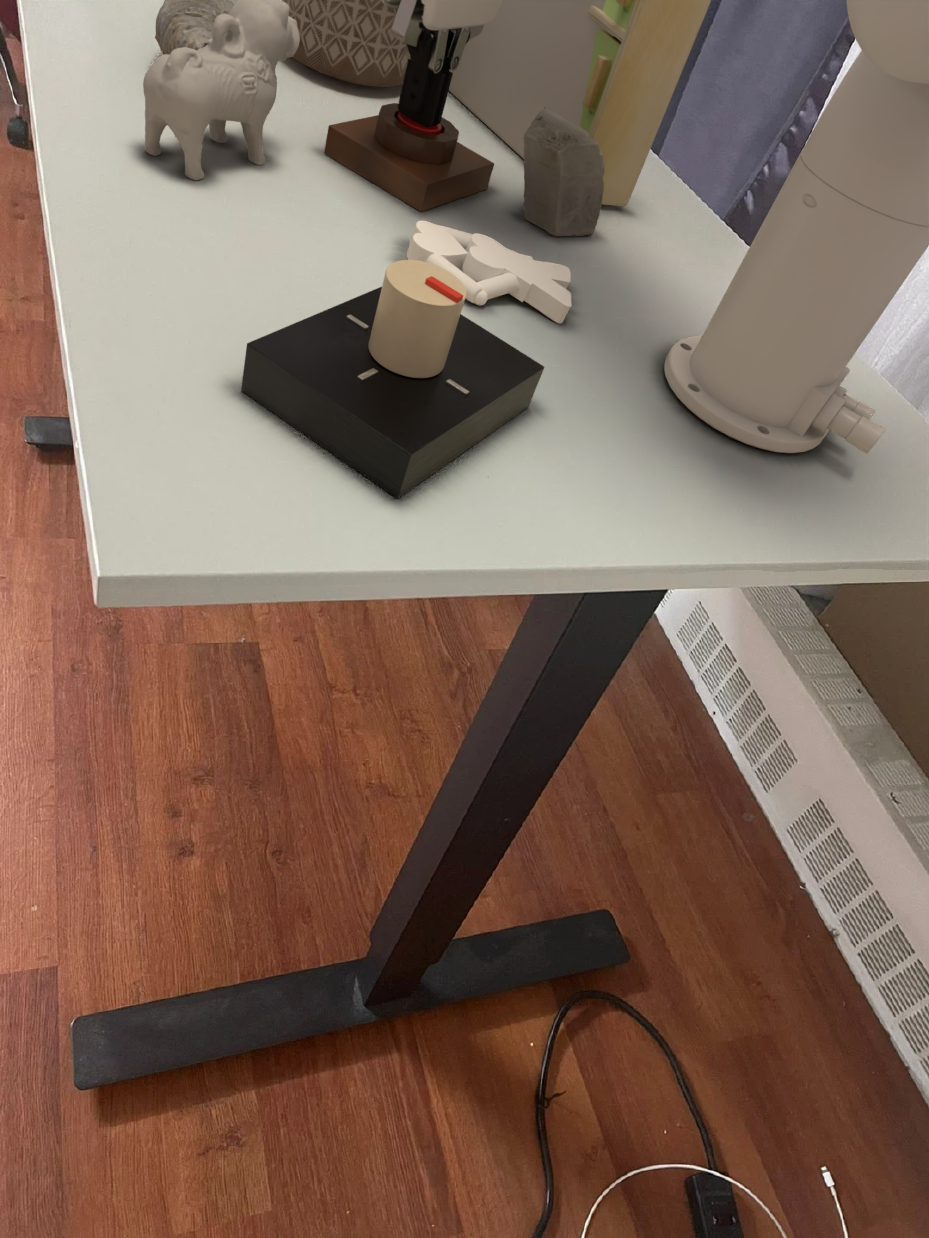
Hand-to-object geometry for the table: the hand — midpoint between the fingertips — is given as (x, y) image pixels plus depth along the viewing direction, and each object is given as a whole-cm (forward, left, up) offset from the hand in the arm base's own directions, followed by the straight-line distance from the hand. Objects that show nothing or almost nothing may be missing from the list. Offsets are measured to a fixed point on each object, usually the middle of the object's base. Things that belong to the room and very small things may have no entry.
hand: (418, 118), depth 72 cm
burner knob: (-19, +27, -1) cm, 33 cm away
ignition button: (0, 0, -2) cm, 2 cm away
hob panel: (-19, +27, -4) cm, 33 cm away
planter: (+17, -12, -4) cm, 21 cm away
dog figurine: (+8, +14, -4) cm, 17 cm away
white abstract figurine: (-14, +9, -4) cm, 17 cm away
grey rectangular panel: (+3, -20, -4) cm, 21 cm away
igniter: (0, 0, -4) cm, 4 cm away
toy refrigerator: (-9, -15, -4) cm, 18 cm away
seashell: (+20, +4, -4) cm, 21 cm away
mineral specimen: (-11, -5, -4) cm, 13 cm away
